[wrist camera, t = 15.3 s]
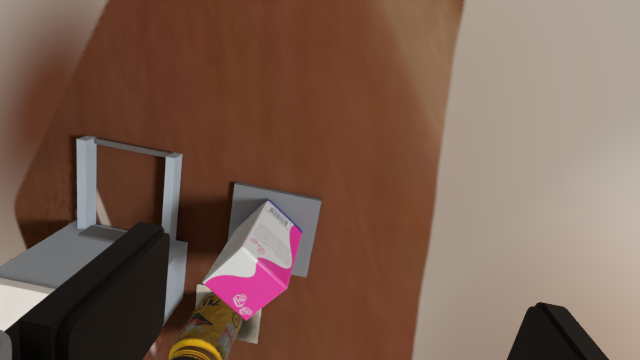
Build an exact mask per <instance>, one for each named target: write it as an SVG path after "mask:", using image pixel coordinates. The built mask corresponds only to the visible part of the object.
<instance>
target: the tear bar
mask: <svg viewBox="0 0 640 360" xmlns="http://www.w3.org/2000/svg"><path fill="white" fill-rule="evenodd" d="M94 144H99V145H104V146H109V147H114V148H119V149H124V150H129V151H134V152H140V153H145V154H150V155H155V156H160V157H165V158H166V157H167V156H168V155H170V154H172V153H173V152H169V151H164V150H159V149H154V148H149V147H144V146H139V145H134V144H129V143H124V142H119V141H114V140H108V139H103V138H98V137H97V138H94Z"/></svg>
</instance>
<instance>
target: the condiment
mask: <svg viewBox="0 0 640 360" xmlns="http://www.w3.org/2000/svg"><path fill="white" fill-rule="evenodd" d="M260 317H261V309H260V310H259V311H258V312H256V313H255V314H254V315H253V316H252V317H250V318H249V319H248V320H245V319H243V318H242V317H241V316H240V315H239V314H238V313H237V312H235V311H234V310H233V309H232V308H231V307H230V306H229V305H227V304H226V303H225V302H224V301H223V300H222V299H220V298H219V297H218V296H217V295H216V294H215V293H214V292H212V291H211V290H210V289H209V288H208V287H207V286H206V285H197V290H196V309H195V311H194V312H193V313H192V315H191V317H190V319H189V320H188V322H187V324H186V326H185V327H184V329H183V330H182V332H181V334H180V335H179V337H178V339H177V340H176V342H175V343H174V345H173V346H172V349H171V351H170V354H169V360H227V359H228V356H229V354H230V351H231V349H232V346H233V344H234V341H235V339H236V340H242V341H246V342H250V343H257V342H258V334H259V326H260Z"/></svg>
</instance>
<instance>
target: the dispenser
mask: <svg viewBox="0 0 640 360" xmlns="http://www.w3.org/2000/svg"><path fill="white" fill-rule="evenodd" d="M94 138H97V137H93V136H85V137H82V138H79V139H77V220H75V221H74V222H72V223H71V224H69V225H67V226H66V227H64V228H62V229H61V230H59V231H58V232H56V233H54V234H53V235H51V236H49V237H48V238H46V239H44V240H43V241H41V242H40V243H38V244H36V245H35V246H33V247H31V248H30V249H28V250H27V251H25V252H23V253H22V254H20V255H18V256H17V257H15V258H13V259H12V260H11V261H9V262H7V263H5V264H4V265H2V266H0V330H2V331H5V330H6V329H8V328H9V327H10V326H11V325H13V324H14V323H15V322H16V321H17V320H18V319H19V318H21V317H22V316H23V315H24V314H26V313H27V312H28V311H29V310H31V309H32V308H33V307H34V306H35V305H37V304H38V303H39V302H40V301H42V300H43V299H44V298H45V297H47V296H48V295H49V294H50V293H52V292H53V291H54V290H55V289H57V288H58V287H59V286H60V285H62V284H63V283H64V282H65V281H67V280H68V279H69V278H70V277H72V276H73V275H74V274H75V273H77V272H78V271H79V270H80V269H81V268H83V267H84V266H85V265H86V264H88V263H89V262H90V261H91V260H93V259H94V258H95V257H96V256H98V255H99V254H100V253H101V252H103V251H104V250H105V249H106V248H108V247H109V246H110V245H111V244H113V243H114V242H115V241H116V240H118V239H119V238H120V237H121V236H122V235H124V234H125V233H126V232H127V231H128V230H123V229H118V228H113V227H108V226H103V225H98V224H96V152H97V144H94ZM181 166H182V154H179V153H172V154H170V155H168V156H167V157H166V166H165V182H164V198H163V214H162V227H163V228H164V233H169V235H170V248H169V262H168V276H167V290H166V304H165V318H164V324H163V326H164V325H165V323H166V322H167V321H168V319H169V318H170V316H171V315H172V313H173V312H174V310H175V309H176V307H177V306H178V304H179V303H180V302H181V300H182V299H183V292H184V281H185V269H186V258H187V246H188V242H183V241H178V240H176V231H177V218H178V205H179V192H180V179H181ZM162 328H163V327H162Z"/></svg>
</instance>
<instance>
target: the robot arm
mask: <svg viewBox="0 0 640 360" xmlns="http://www.w3.org/2000/svg"><path fill="white" fill-rule="evenodd" d="M169 248H170V235H169V233H164V228H163V227H162V226H158V225H153V224H148V223H143V222H139V223H137V224H136V225H135V226H134V227H132V228H131V229H130V230H129V231H127V232H126V233H125V234H124V235H122V236H121V237H120V238H119V239H118V240H116V241H115V242H114V243H113V244H111V245H110V246H109V247H108V248H106V249H105V250H104V251H103V252H101V253H100V254H99V255H98V256H96V257H95V258H94V259H93V260H91V261H90V262H89V263H88V264H86V265H85V266H84V267H83V268H81V269H80V270H79V271H78V272H77V273H75V274H74V275H73V276H72V277H70V278H69V279H68V280H67V281H65V282H64V283H63V284H62V285H60V286H59V287H58V288H57V289H55V290H54V291H53V292H52V293H50V294H49V295H48V296H47V297H45V298H44V299H43V300H42V301H40V302H39V303H38V304H37V305H35V306H34V307H33V308H32V309H31V310H29V311H28V312H27V313H26V314H24V315H23V316H22V317H21V318H19V319H18V320H17V321H16V322H15V323H14V324H13V325H11V326H10V327H9V328H8V329H6V330H5V331H2V330H0V360H142V359H143V358H144V356H145V355H146V353H147V352H148V350H149V349H150V348H151V346H152V345H153V343H154V342H155V340H156V339H157V337H158V336H159V334H160V332H161V330H162V327H163V324H164V318H165V304H166V290H167V276H168V262H169ZM507 360H609V359H608V358H607V357H606V355H605V354H604V353H603V352H602V351H601V349H600V348H599V347H598V346H597V345H596V343H595V342H594V341H593V340H592V339H591V337H589V335H588V334H587V333H586V332H585V330H584V329H583V328H582V327H581V326H580V324H579V323H578V322H577V321H576V320H575V318H574V317H573V316H572V315H571V314H570V312H569V311H568V310H567V309H566V308H565V307H562V306H557V305H552V304H547V303H542V302H540V303H537V304H536V305H535V306H534V307H533V306H532V307H530V308H529V309H528V310H527V312H526V314H525V317H524V319H523V322H522V324H521V326H520V329H519V331H518V334H517V336H516V339H515V341H514V344H513V346H512V349H511V351H510V353H509V356H508V359H507Z"/></svg>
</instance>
